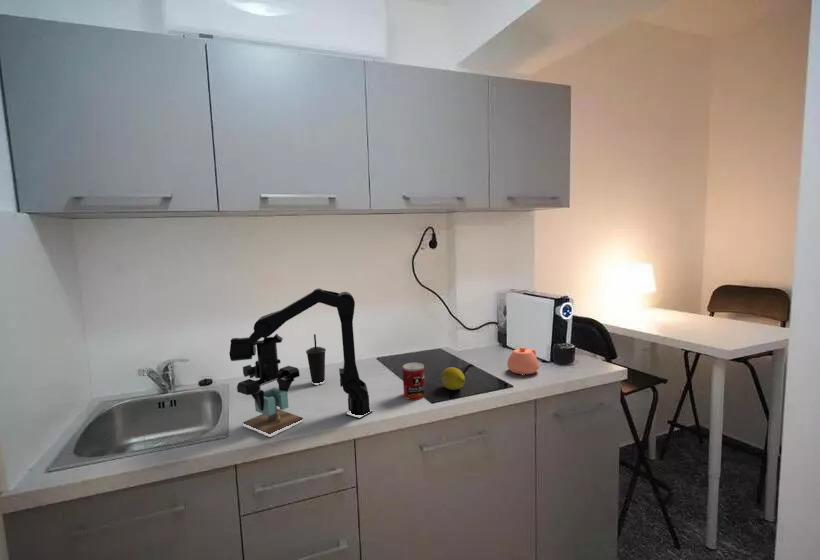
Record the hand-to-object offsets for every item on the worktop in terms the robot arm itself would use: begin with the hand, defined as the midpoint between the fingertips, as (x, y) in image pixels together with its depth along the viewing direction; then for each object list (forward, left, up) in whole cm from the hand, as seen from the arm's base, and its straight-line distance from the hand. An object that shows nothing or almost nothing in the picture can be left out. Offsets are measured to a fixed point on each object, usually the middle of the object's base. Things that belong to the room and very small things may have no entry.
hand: (272, 406), depth 126 cm
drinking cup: (+16, -32, -6) cm, 36 cm away
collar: (0, 0, -1) cm, 1 cm away
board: (0, 0, -6) cm, 6 cm away
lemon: (-34, -53, -6) cm, 63 cm away
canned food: (-25, -41, -6) cm, 48 cm away
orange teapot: (-49, -84, -6) cm, 97 cm away
